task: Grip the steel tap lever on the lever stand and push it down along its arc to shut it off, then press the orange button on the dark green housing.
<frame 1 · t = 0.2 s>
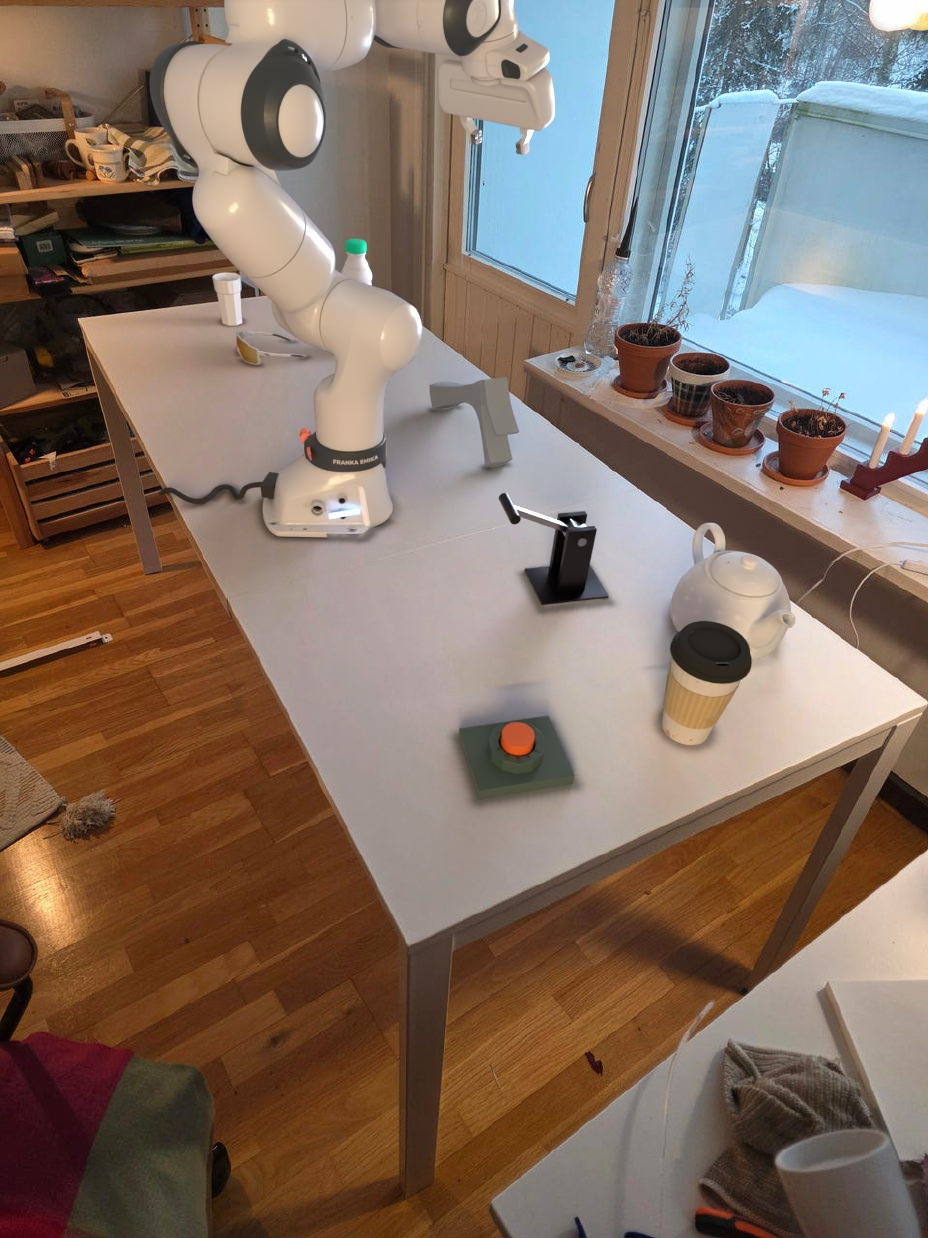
hand: (499, 147, 132), 52 cm above the table, tool tilted 20°, fingers open, 8 cm apart
tap lever: (544, 520, 118), point 13 cm above the table, hinge at 25.0°
button: (517, 739, 98), point 4 cm above the table, slide at 0.1 cm
button box: (514, 760, 100), on the table
cup: (232, 322, 203), on the table
water bottle: (358, 351, 194), on the table
sunglasses: (269, 354, 190), on the table
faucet: (470, 437, 164), on the table
coffee cup: (684, 728, 107), on the table
teapot: (721, 627, 123), on the table
lever stand: (564, 588, 128), on the table
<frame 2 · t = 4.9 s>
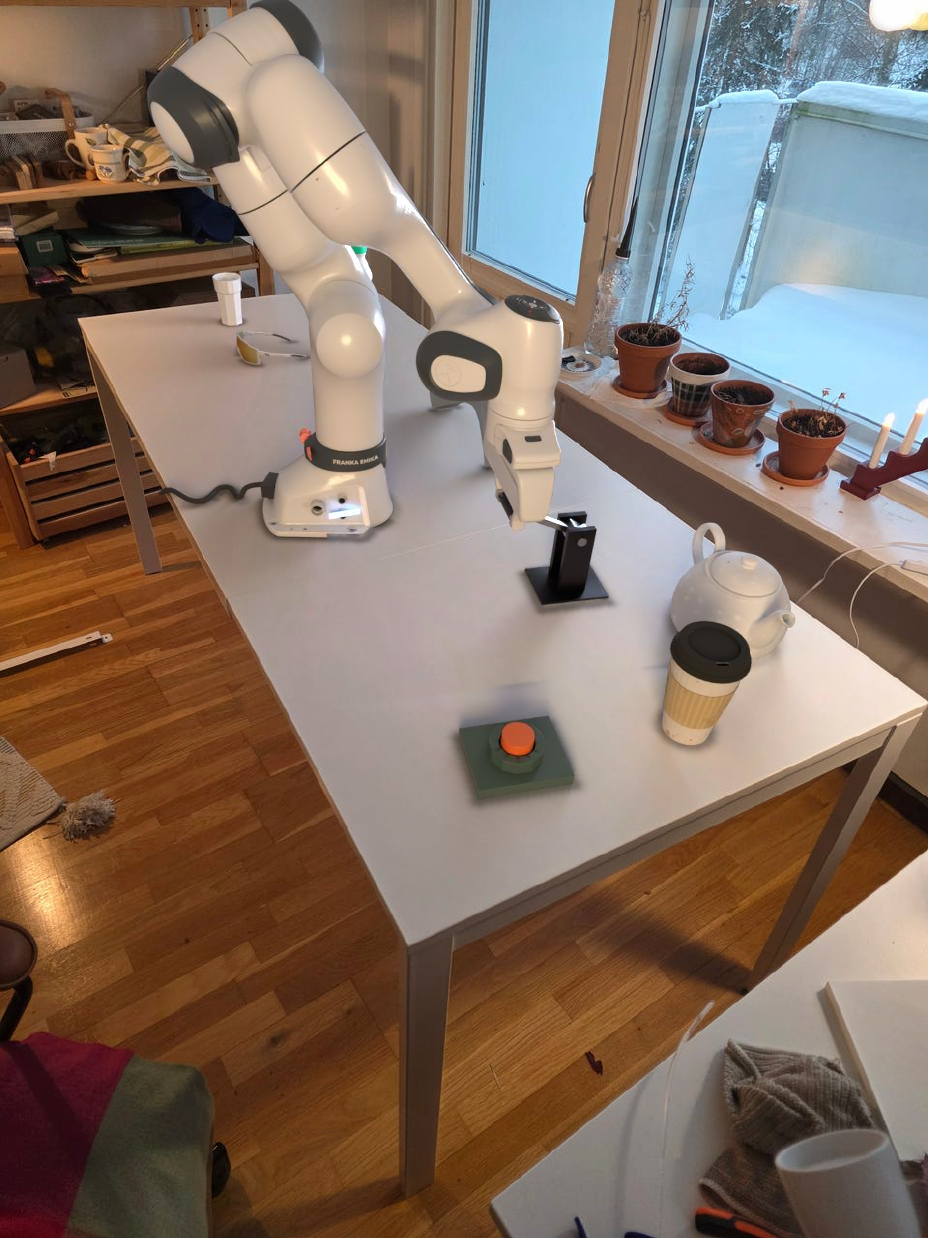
hand: (509, 513, 115), 15 cm above the table, tool pointing down, fingers closed on tap lever, 6 cm apart
tap lever: (544, 520, 118), point 13 cm above the table, hinge at 25.0°, touching gripper
everything else where it was.
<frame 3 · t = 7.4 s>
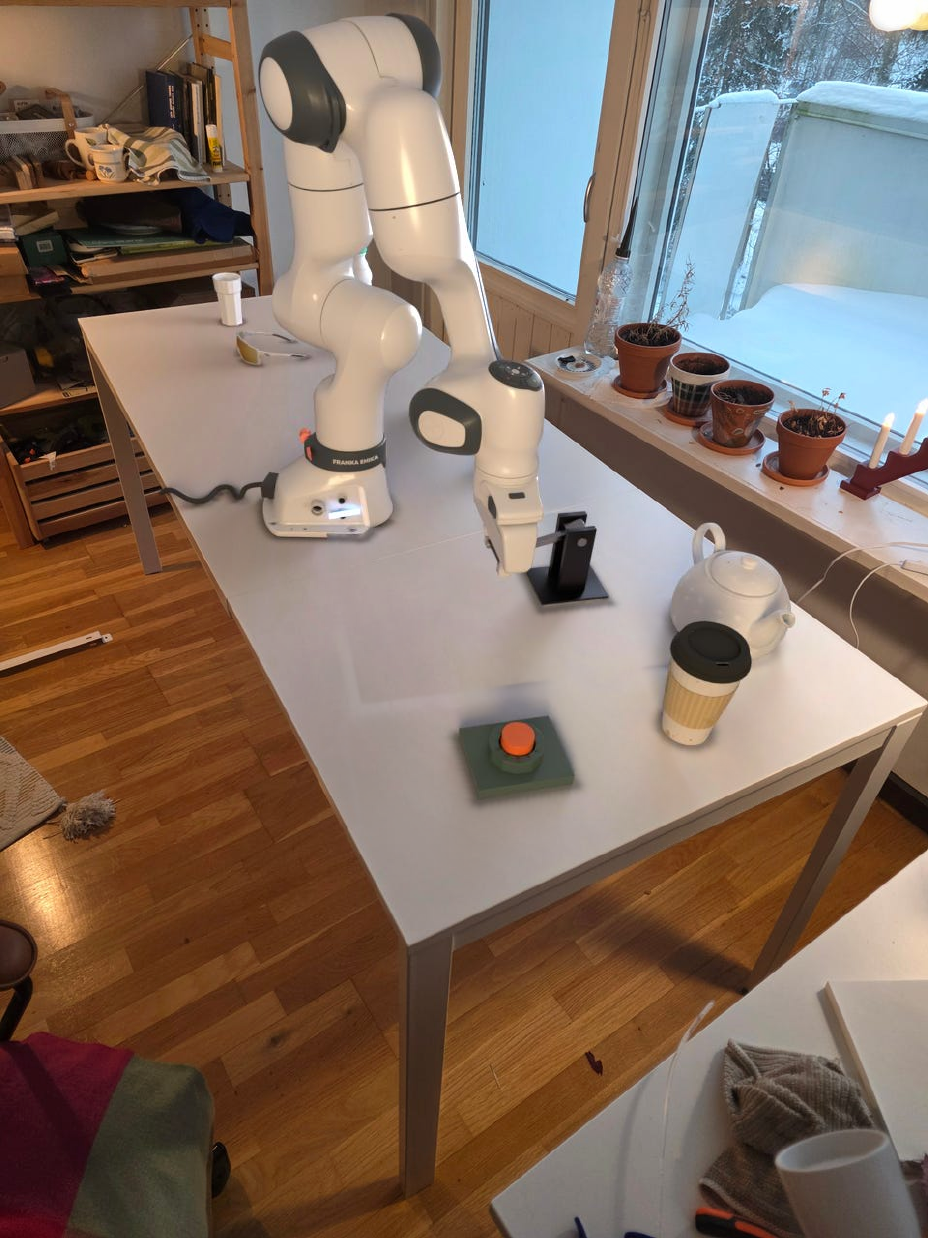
hand: (496, 560, 120), 7 cm above the table, tool pointing down, fingers closed on tap lever, 6 cm apart
tap lever: (539, 541, 120), point 10 cm above the table, hinge at -13.8°, touching gripper
everything else where it was.
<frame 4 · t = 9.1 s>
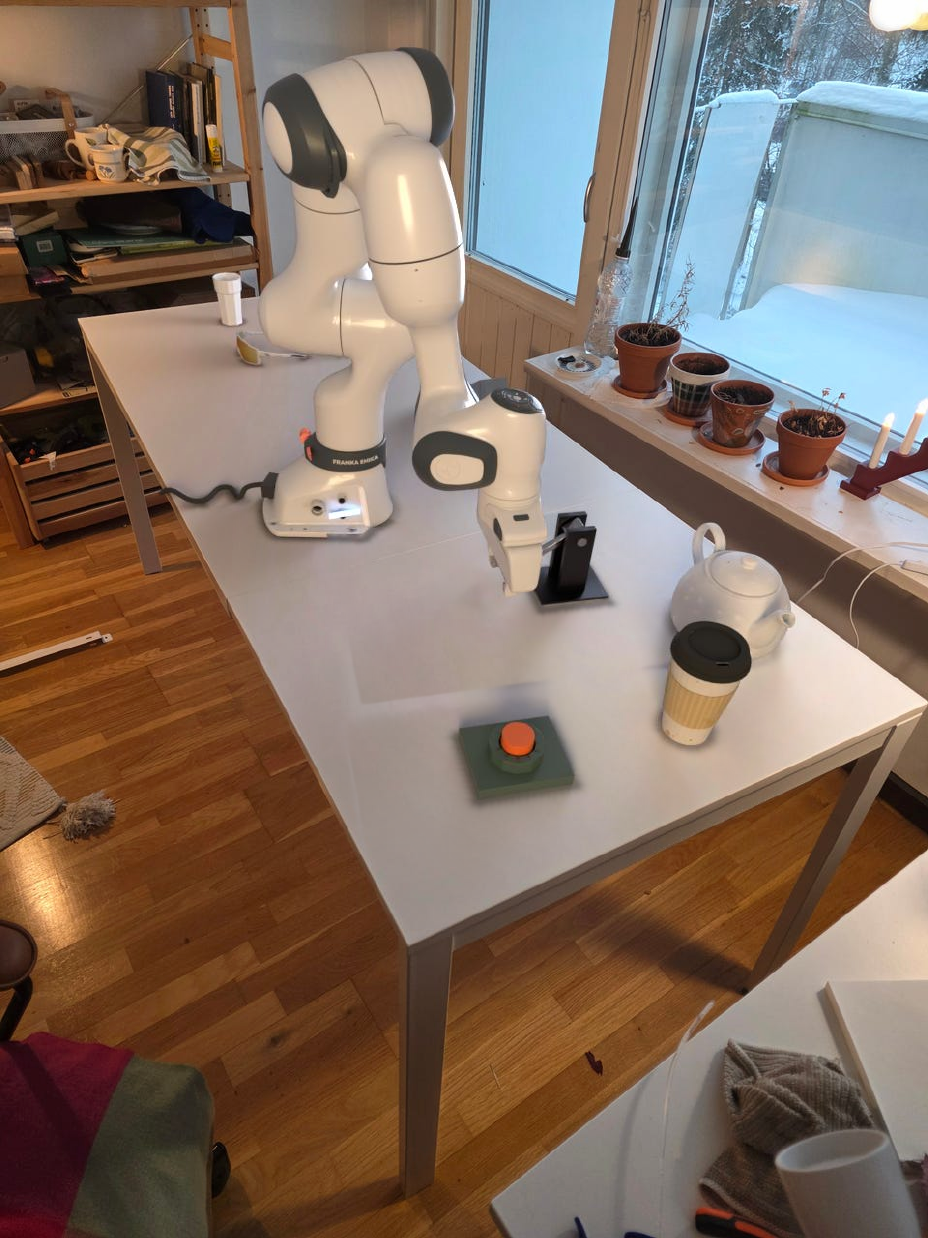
hand: (502, 579, 123), 3 cm above the table, tool pointing down, fingers closed on tap lever, 6 cm apart
tap lever: (542, 550, 122), point 8 cm above the table, hinge at -31.8°, touching gripper
everything else where it was.
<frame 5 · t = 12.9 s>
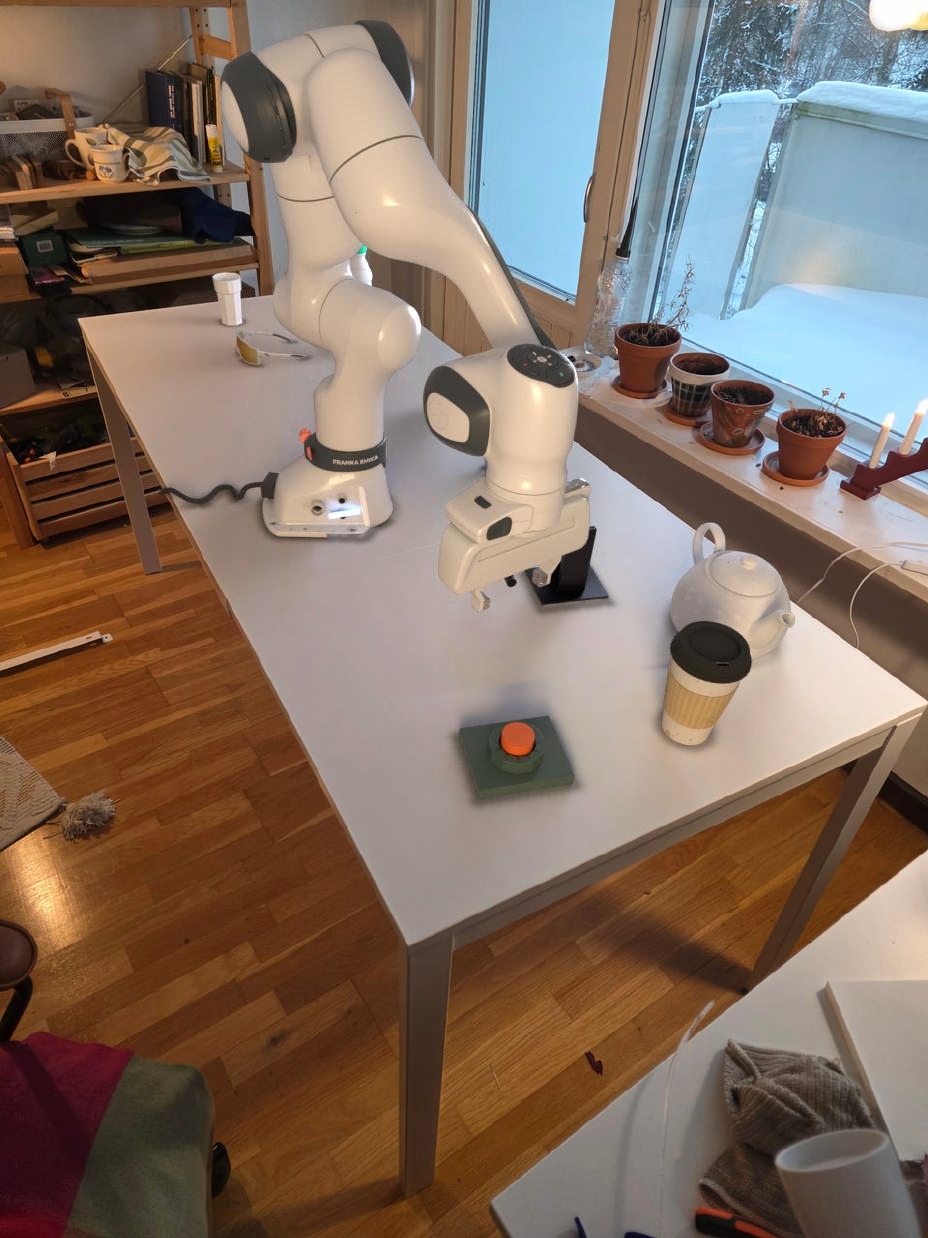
hand: (510, 595, 98), 17 cm above the table, tool pointing down, fingers open, 8 cm apart
tap lever: (542, 550, 121), point 8 cm above the table, hinge at -31.6°
everything else where it was.
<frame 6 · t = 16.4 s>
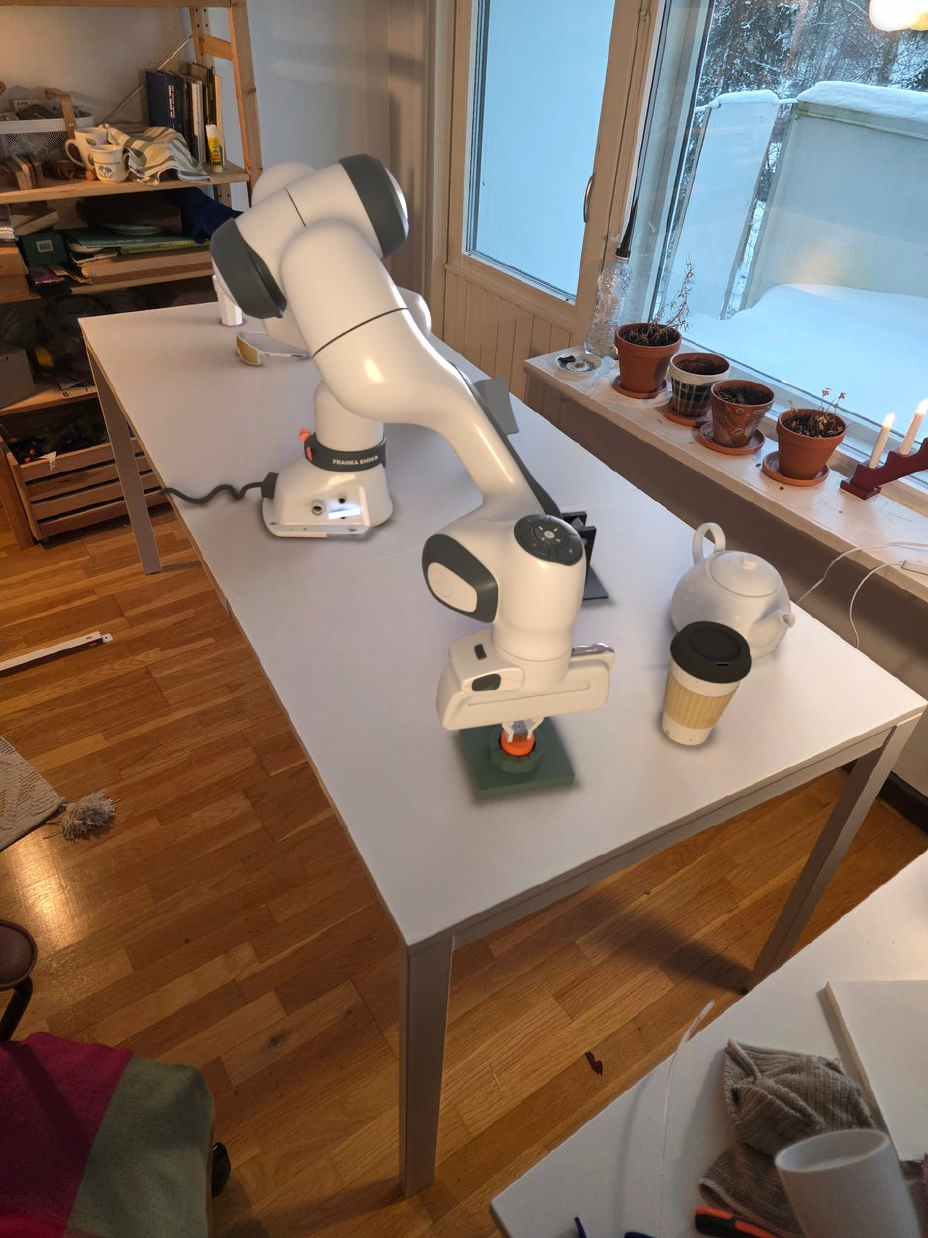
hand: (517, 736, 97), 5 cm above the table, tool pointing down, fingers closed, pressing on button
button: (517, 741, 98), point 4 cm above the table, slide at -0.3 cm, touching gripper
everything else where it was.
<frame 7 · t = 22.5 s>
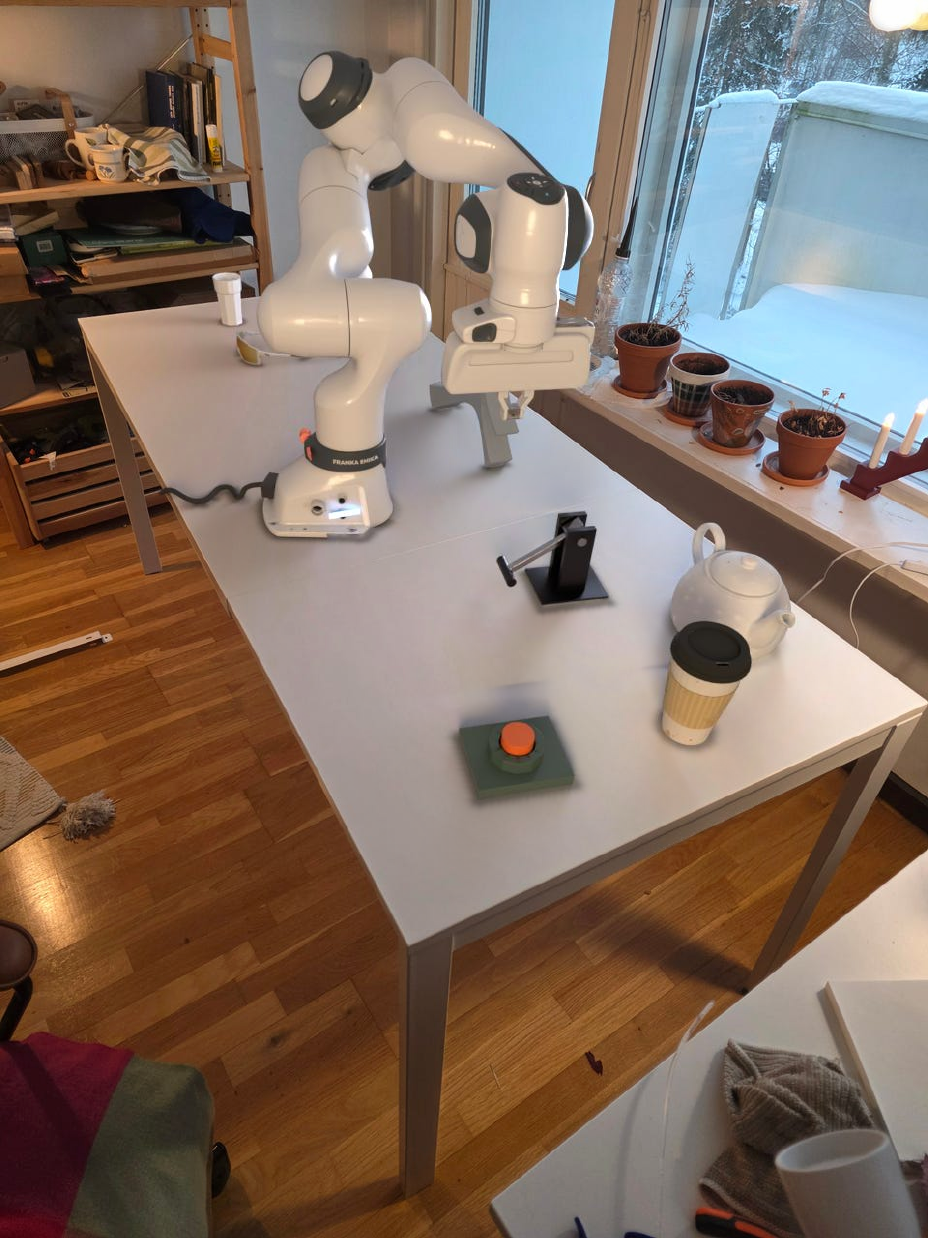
hand: (511, 417, 112), 27 cm above the table, tool pointing down, fingers closed
button: (517, 739, 98), point 4 cm above the table, slide at 0.1 cm
everything else where it was.
at the end: tap lever at -32° (first picture: +25°); button pushed in 1.1 cm at the most during the clip, back to where it started at the end; button slide at 0.1 cm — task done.
